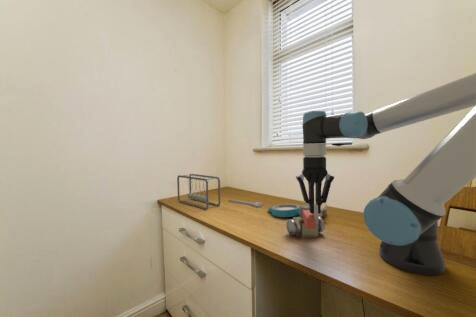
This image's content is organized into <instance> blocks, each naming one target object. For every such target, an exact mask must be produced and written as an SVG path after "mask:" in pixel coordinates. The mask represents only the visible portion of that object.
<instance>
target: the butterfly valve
mask: <svg viewBox="0 0 476 317" xmlns="http://www.w3.org/2000/svg"><path fill="white" fill-rule="evenodd" d="M300 206H301V205H299V204H296V203H295V204H294V203H284V204H283V203H282V204H276V205H273V206H269V207H268V210H267V211H268V213H271V215H272V216H274V217H277V218H290V217H292V218H293V217H298V216H300ZM307 206H309V204H308V205H307ZM327 209H328V203H327V202H326V203H322V205H321V213H318V216H320V217H321V218H322V217H323V216H327V214H328V210H327Z"/></svg>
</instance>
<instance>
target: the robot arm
mask: <svg viewBox="0 0 476 317" xmlns="http://www.w3.org/2000/svg"><path fill="white" fill-rule="evenodd" d="M468 108H471V109H470V110H469V112H468V113H467V114H466V115H464V116H463V118H462V119H461V120H460V121H458V123H457V124H456V125H455V126H454V127H453V128H452V129H451V130H450V131H449V132H448V134H447V135H445V136H444V137H443V139H442V140H440V142H439V143H438V144H437V145H436V146H435V147H434V148H433V149H432V150H431V151H430V152H429V153H428V154H427V155H426V156H425V157H424V158H423V159H422V160H421V161H420V162H419V163H418V164H417V166H416V167H415V168H414V169H413V170H412V171H410V173H409V174H408V175H407V176H406V177H405V178H404V179H395V180H393V181H391V183H390V184H388V185H387V187H386V188H385V189H384V190H383V191H382V192H381V193H380V194H379V195H378V196H377V197H375V198H372V199H370V200H369V201H368V203H367V204H366V205H365V206H364V209H363V214H362V216H363V220H364V224H365V226H366V228H367V229H368V231H369V232H370V233H371V234H372V235H373V236H374V237H376V238H377V239H378V240H380V241H381V243H380V244H379V247H378V248H379V249H378V250H379V252H378V253H379V256H380V258H381V259H382V260H384V261H385V262H387V264H389V265H391V266H393V267H395V268H398V269H400V270H403V271H406V272H409V273H413V274H417V275H423V276H441V275H443V274H444V273H445V270H446V262H445V259H444V257H443V253H442V251H441V249H440V246H439V243H438V228H439V227H438V224H439V220H440V219H441V218H442V217H444V216H446V214H447V212H446V207H445V204H446V203H447V202H448V201H449V200H450V199H452V198H453V197H454V196H456V195H457V194H458V193H459V192H460V191H461V190H462V189H464V188H465V187H466V186H467V185H468V184H470V182H472V181H473V180H474V179H475V178H476V72H475V73H472V74H470V75H467V76H464V77H461V78H459V79H457V80H453V81H451V82H447V83H445V84H443V85H440V86H438V87H435V88H432V89H430V90H427V91H424V92H421V93H420V94H416V95H413V96H411V97H408V98H406V99H402V100H400V101H397V102H395V103H392V104H390V105H387V106H384V107H381V108H379V109H376V110H374V111H372V112H369V113H364V112H363V111H360V110H359V111H347V112H344V113H343V112H342V113H336V114H331V115H327V112H326V111H324V110H310V111H307V112H305V113H303V115H302V140H303V142H302V143H303V147H302V148H303V150H302V155H303V156H304V157H303V158H302V161H303V164H302V165H303V167H302V171H301V174H299V175H296V176H295V179H296V180H297V182H298V183H299V184H298V185H299V187H300V190H301V194H302V198H303V201H304V202H305V203H306V204H308V205H309V209H310V210H309V211H310V213H311V214H313V216H314V217H315V224H318V213H321V205H322V203H326V204H327V200H328V197H329V193H330V189H331V185H332V182H333V181H334V179H335V176H333V175H331V174H329V173H328V170H327V157H326V155H327V140H328V139H329V140H330V139H359V140H367V139H369V138H370V139H371V138H373V137H375V136H376V135H379V134H382V133H385V132H389V131H392V130H396V129H399V128H403V127H407V126H410V125H413V124H416V123H419V122H420V123H421V122H424V121H427V120H430V119H435V118H439V117H441V116H445V115H448V114H452V113H455V112H459V111H461V110H466V109H468ZM324 179H325V181H324V185H323V188H322V184H323V180H324ZM304 180H306V181H307V186H308V192H307V189H306V185H305V182H304Z"/></svg>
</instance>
